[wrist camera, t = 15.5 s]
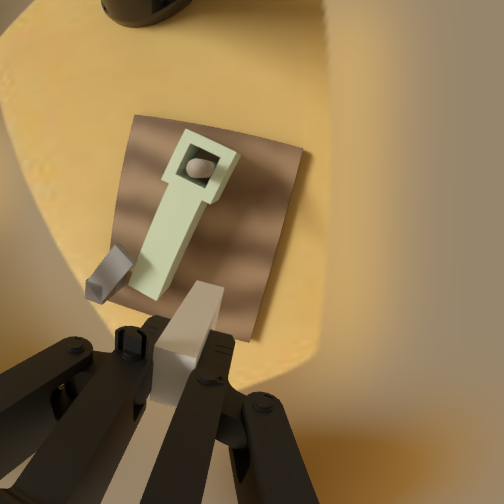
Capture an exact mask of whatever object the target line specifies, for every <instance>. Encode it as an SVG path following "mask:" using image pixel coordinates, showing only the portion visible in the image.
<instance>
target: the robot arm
mask: <svg viewBox="0 0 504 504" xmlns="http://www.w3.org/2000/svg"><path fill="white" fill-rule="evenodd" d="M190 2H191V0H101V4H102V7H103V10H104V12H105V13H106V14H107V15H108V16H109V17H110V18H111V19H112V20H113V21H115V22H116V23H118V24H120V25H122V26H126V27H143V26H148V25H152V24H155V23H158V22H161V21H163V20H165V19H167V18H169V17H171V16H173V15H174V14H176V13H177V12H179V11H180V10H182V9H183V8H184V7H185V6H186V5H188V4H189V3H190ZM223 292H224V287H221V286H217V285H213V284H209V283H205V282H202V281H198V280H197V281H196V282H195V284H194V285H193V287H192V288H191V290H190V291H189V293H188V294H187V296H186V298H185V299H184V301H183V302H182V304H181V305H180V307H179V308H178V310H177V311H176V313H175V314H174V316H173V317H172V319H169V318H166V317H162V316H159V315H155V316H152V317H150V318H148V319H147V320H146V322H145V323H144V325H143V326H142V327H141V328H139V327H135V326H124V327H120V328H118V329H117V330H115V350H114V351H113V352H112V353H106V352H99V351H93V347H92V344H91V343H90V342H89V341H88V340H87V339H84V338H82V337H76V336H75V337H68V338H65V339H63V340H61V341H59V342H57V343H56V344H54V345H52V346H50V347H48V348H46V349H45V350H43V351H41V352H39V353H37V354H35V355H34V356H32V357H30V358H28V359H27V360H25V361H23V362H21V363H19V364H17V365H16V366H14V367H12V368H10V369H9V370H7V371H5V372H3V373H1V374H0V480H1V479H2V478H3V477H5V476H6V475H7V474H8V473H10V472H11V471H12V470H13V469H15V468H16V467H17V466H19V465H20V464H21V463H22V462H24V461H25V460H26V459H27V458H28V457H30V456H31V455H32V454H34V453H35V452H36V451H37V452H36V453H35V455H34V456H33V458H32V459H31V460H30V462H29V463H28V464H27V466H26V467H25V469H24V470H23V472H22V473H21V475H20V476H19V477H18V479H17V481H16V482H15V483H14V485H13V486H12V487H11V488H9V489H0V504H100V503H101V501H102V499H103V497H104V494H105V492H106V490H107V488H108V486H109V484H110V482H111V480H112V478H113V475H114V473H115V471H116V469H117V467H118V464H119V463H120V461H121V459H122V456H123V454H124V452H125V450H126V448H127V446H128V444H129V442H130V440H131V438H132V436H133V434H134V432H135V430H136V428H137V425H138V423H139V421H140V419H141V417H142V415H143V413H144V411H145V409H146V399H147V397H148V395H149V394H150V400H151V401H154V402H157V403H160V404H163V405H166V406H169V407H173V408H176V410H175V413H174V415H173V418H172V421H171V423H170V426H169V428H168V431H167V433H166V436H165V438H164V441H163V444H162V446H161V449H160V451H159V454H158V457H157V459H156V462H155V464H154V467H153V470H152V472H151V475H150V477H149V480H148V483H147V486H146V488H145V491H144V493H143V496H142V499H141V501H140V504H201V502H202V497H203V493H204V488H205V484H206V479H207V474H208V470H209V465H210V461H211V456H212V451H213V447H214V442H215V439H216V440H218V441H220V442H222V443H224V444H226V445H228V446H229V454H230V460H231V466H232V472H233V478H234V483H235V489H236V494H237V500H238V504H319V501H318V499H317V496H316V494H315V491H314V488H313V486H312V483H311V480H310V478H309V475H308V473H307V470H306V467H305V464H304V462H303V459H302V457H301V454H300V451H299V448H298V446H297V443H296V440H295V438H294V435H293V432H292V429H291V427H290V424H289V421H288V419H287V416H286V413H285V410H284V408H283V405H282V403H281V402H280V400H279V399H277V398H276V397H275V396H273V395H271V394H269V393H265V392H253V393H251V394H248V395H247V396H246V395H244V394H242V393H240V392H238V391H236V390H235V389H234V388H233V387H232V386H231V385H230V383H229V381H228V374H229V370H230V365H231V360H232V355H233V351H234V346H235V340H234V338H233V336H232V335H230V334H226V333H222V332H219V331H215V327H216V323H217V318H218V314H219V309H220V305H221V301H222V296H223ZM62 384H63V385H62ZM61 385H62V386H61ZM59 386H60V387H59Z"/></svg>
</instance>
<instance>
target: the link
mask: <svg viewBox="0 0 504 504" xmlns="http://www.w3.org/2000/svg"><path fill="white" fill-rule="evenodd" d="M200 148H202V149H204V150H206V151H208V152H210V153H212V154H214V155H216V156H219V157H221V158H220V160H219V162H218V164H217V166H216V168H215V170H214V172H213V174H212V176H211V178H210V180H209V182H208V184H207V183H205V182H203V181H201V180H199V179H197V178H192V177H190V176H189V175H188V173H187V171H186V167H187V164H188V162H189V161H190V160H192V159H195V158H196V156H197V154H198V152H199V150H200ZM240 157H241V155H240V154H239V153H237V152H235V151H233V150H231V149H229V148H227V147H225V146H223V145H221V144H218V143H216V142H214V141H212V140H210V139H208V138H206V137H203V136H201V135H199V134H197V133H195V132H192V131H190V130H188V129H185V131H184V133H183V135H182V137H181V139H180V141H179V143H178V145H177V147H176V149H175V151H174V153H173V155H172V157H171V159H170V161H169V163H168V166H167V168H166V170H165V172H164V174H163V176H162V179H161V180H163V181H165V182H167V183H169V184H168V187H167V189H166V191H165V193H164V196H163V198H162V200H161V202H160V205H159V207H158V209H157V212H156V214H155V216H154V219H153V221H152V224H151V226H150V229H149V231H148V233H147V236H146V238H145V241H144V244H143V246H142V249H141V251H140V254H139V256H138V259H137V262H136V264H135V267H134V270H133V273H132V275H131V278H130V281H129V284H128V285H129V286H131V287H132V288H134V289H136V290H138V291H139V292H141V293H143V294H145V295H146V296H148V297H150V298H152V299H154V300H155V301H157V300H158V299H159V298H160V297H161V296H162V294H163V293H164V292H165V291H166V290H167V289H168V287H169V286H170V284H171V282H172V279H173V277H174V275H175V273H176V270H177V268H178V266H179V264H180V261H181V259H182V257H183V255H184V253H185V250H186V248H187V246H188V244H189V242H190V239H191V237H192V235H193V233H194V231H195V229H196V227H197V225H198V222H199V220H200V218H201V216H202V214H203V212H204V210H205V208H206V206H207V204H208V203H209V204H212V203H214V202H216V201H218V200H219V198H220V196H221V194H222V192H223V190H224V188H225V186H226V184H227V182H228V180H229V178H230V176H231V174H232V172H233V170H234V168H235V167H236V165H237V163H238V161H239V159H240Z"/></svg>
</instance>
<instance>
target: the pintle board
mask: <svg viewBox="0 0 504 504" xmlns="http://www.w3.org/2000/svg"><path fill="white" fill-rule="evenodd" d="M185 129H188V130H190V131H192V132H195V133H197V134H199V135H201V136H203V137H206V138H208V139H210V140H212V141H214V142H216V143H218V144H221V145H223V146H225V147H227V148H229V149H231V150H233V151H235V152H237V153H239V154H240V155H241V157H240V159H239V161H238V163H237V165H236V167H235V168H234V170H233V172H232V174H231V176H230V178H229V180H228V182H227V184H226V186H225V188H224V190H223V192H222V194H221V196H220V198H219V200H218V201H216V202H214V203H212V204H209V203H208V204H207V206H206V208H205V210H204V212H203V214H202V216H201V218H200V220H199V222H198V225H197V227H196V229H195V231H194V233H193V235H192V237H191V239H190V242H189V244H188V246H187V248H186V250H185V253H184V255H183V257H182V259H181V261H180V264H179V266H178V268H177V270H176V273H175V275H174V277H173V279H172V282H171V284H170V286H169V287H168V289H167V290H166V291H165V292H164V293H163V294H162V296H161V297H160V298H159V299H158V300H157V301H155V300H154V299H152V298H150V297H148V296H146V295H145V294H143V293H141V292H139V291H138V290H136V289H134V288H132V287H131V286H129V285H128V284H129V281H130V278H131V275H132V273H133V270H134V267H135V264H136V262H137V259H138V256H139V254H140V251H141V249H142V246H143V244H144V241H145V238H146V236H147V233H148V231H149V229H150V226H151V224H152V221H153V219H154V216H155V214H156V212H157V209H158V207H159V205H160V202H161V200H162V198H163V196H164V193H165V191H166V189H167V187H168V184H169V183H167V182H165V181H163V180H161V179H162V176H163V174H164V172H165V170H166V168H167V166H168V163H169V161H170V159H171V157H172V155H173V153H174V151H175V149H176V147H177V145H178V143H179V141H180V139H181V137H182V135H183V133H184V131H185ZM302 151H303V148H299V147H296V146H292V145H288V144H284V143H281V142H277V141H273V140H269V139H265V138H261V137H257V136H252V135H248V134H244V133H239V132H234V131H230V130H225V129H220V128H215V127H210V126H205V125H199V124H194V123H188V122H182V121H176V120H170V119H163V118H156V117H149V116H141V115H134V119H133V123H132V127H131V131H130V135H129V139H128V144H127V148H126V153H125V158H124V162H123V167H122V172H121V178H120V183H119V189H118V195H117V201H116V207H115V214H114V221H113V228H112V236H111V245H110V252H109V253H108V254H107V255H106V257H105V258H104V259H103V261H102V262H101V263H100V265H99V266H98V267H97V269H96V270H95V271H94V273H93V274H92V275H91V277H90V278H88V279H87V280H86V283H85V284H86V288H85V298H86V299H88V300H90V301H93V302H95V303H98V304H101V305H102V304H103V303H105V302H106V301H107V300H108V301H111V302H113V303H116V304H119V305H122V306H125V307H128V308H131V309H134V310H137V311H140V312H143V313H146V314H149V315H152V316H155V315H159V316H162V317H166V318H169V319H172V317H173V316H174V314H175V313H176V311H177V310H178V308H179V307H180V305H181V304H182V302H183V301H184V299H185V298H186V296H187V294H188V293H189V291H190V290H191V288H192V287H193V285H194V284H195V282H196V281H197V280H198V281H202V282H205V283H209V284H213V285H217V286H221V287H224V292H223V296H222V301H221V305H220V309H219V314H218V318H217V323H216V327H215V331H219V332H222V333H226V334H230V335H232V336H233V338H234V339H236V340H240V341H244V342H248V343H249V342H250V339H251V335H252V332H253V328H254V325H255V322H256V318H257V315H258V311H259V308H260V304H261V301H262V298H263V294H264V291H265V287H266V284H267V280H268V277H269V273H270V269H271V266H272V262H273V259H274V255H275V252H276V248H277V244H278V241H279V237H280V234H281V230H282V226H283V223H284V219H285V215H286V212H287V208H288V204H289V201H290V197H291V193H292V189H293V186H294V182H295V178H296V174H297V170H298V167H299V163H300V159H301V155H302ZM220 158H221V157H219V156H216V155H214V154H212V153H210V152H208V151H206V150H204V149H202V148H200V150H199V152H198V154H197V156H196V158H195V159H192V160H190V161H189V162H188V164H187V167H186V171H187V173H188V175H189V176H190V177H192V178H197V179H199V180H201V181H203V182H205V183H207V184H208V182H209V180H210V178H211V176H212V174H213V172H214V170H215V168H216V166H217V164H218V162H219V160H220Z"/></svg>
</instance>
